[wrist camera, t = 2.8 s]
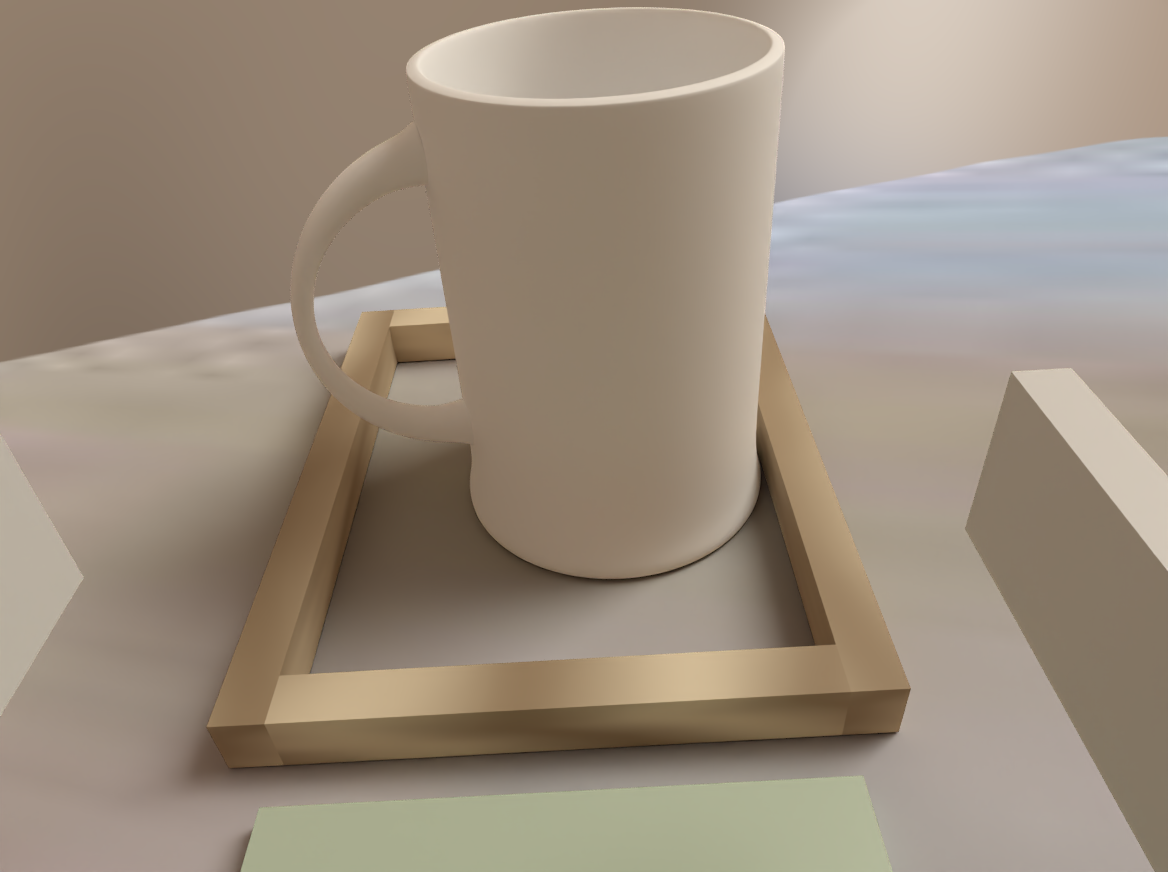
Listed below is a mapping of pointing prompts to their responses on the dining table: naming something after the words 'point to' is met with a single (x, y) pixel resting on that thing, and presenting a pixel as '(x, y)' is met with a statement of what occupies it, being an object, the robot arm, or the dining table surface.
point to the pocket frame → (558, 687)
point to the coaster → (585, 831)
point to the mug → (587, 274)
